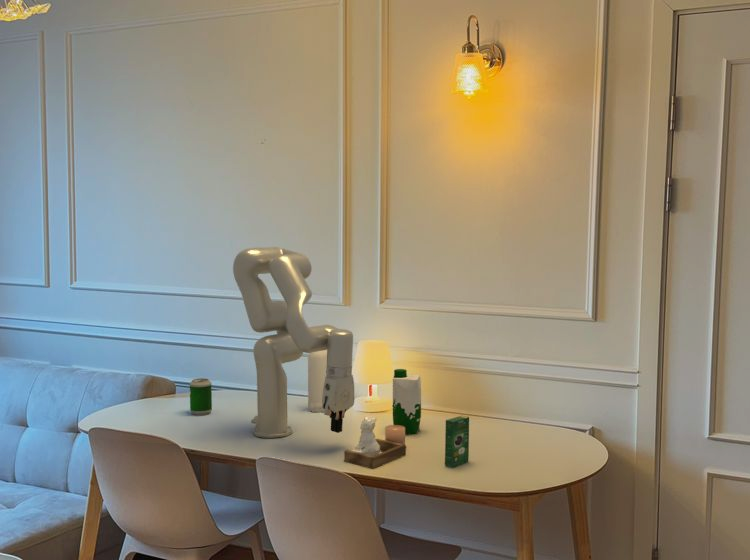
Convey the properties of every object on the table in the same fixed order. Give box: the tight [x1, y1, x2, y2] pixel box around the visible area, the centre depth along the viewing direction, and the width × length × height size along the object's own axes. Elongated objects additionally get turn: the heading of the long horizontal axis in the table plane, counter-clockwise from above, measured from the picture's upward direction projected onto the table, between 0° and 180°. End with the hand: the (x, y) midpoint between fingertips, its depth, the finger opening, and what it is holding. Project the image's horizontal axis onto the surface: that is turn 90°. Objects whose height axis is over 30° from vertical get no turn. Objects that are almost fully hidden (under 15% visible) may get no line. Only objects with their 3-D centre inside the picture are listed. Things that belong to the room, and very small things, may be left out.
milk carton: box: [392, 368, 422, 435], centre depth 241 cm, size 9×9×20 cm
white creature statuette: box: [351, 415, 381, 456], centre depth 216 cm, size 10×9×12 cm
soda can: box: [189, 377, 213, 417], centre depth 264 cm, size 8×8×12 cm
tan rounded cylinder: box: [384, 424, 406, 445], centre depth 225 cm, size 6×6×6 cm
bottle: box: [307, 350, 327, 413], centre depth 268 cm, size 8×8×30 cm
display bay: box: [343, 438, 407, 470], centre depth 214 cm, size 11×15×3 cm
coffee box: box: [444, 415, 470, 469], centre depth 209 cm, size 8×3×13 cm, turn 137°
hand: (336, 431), depth 223 cm, fingers closed
